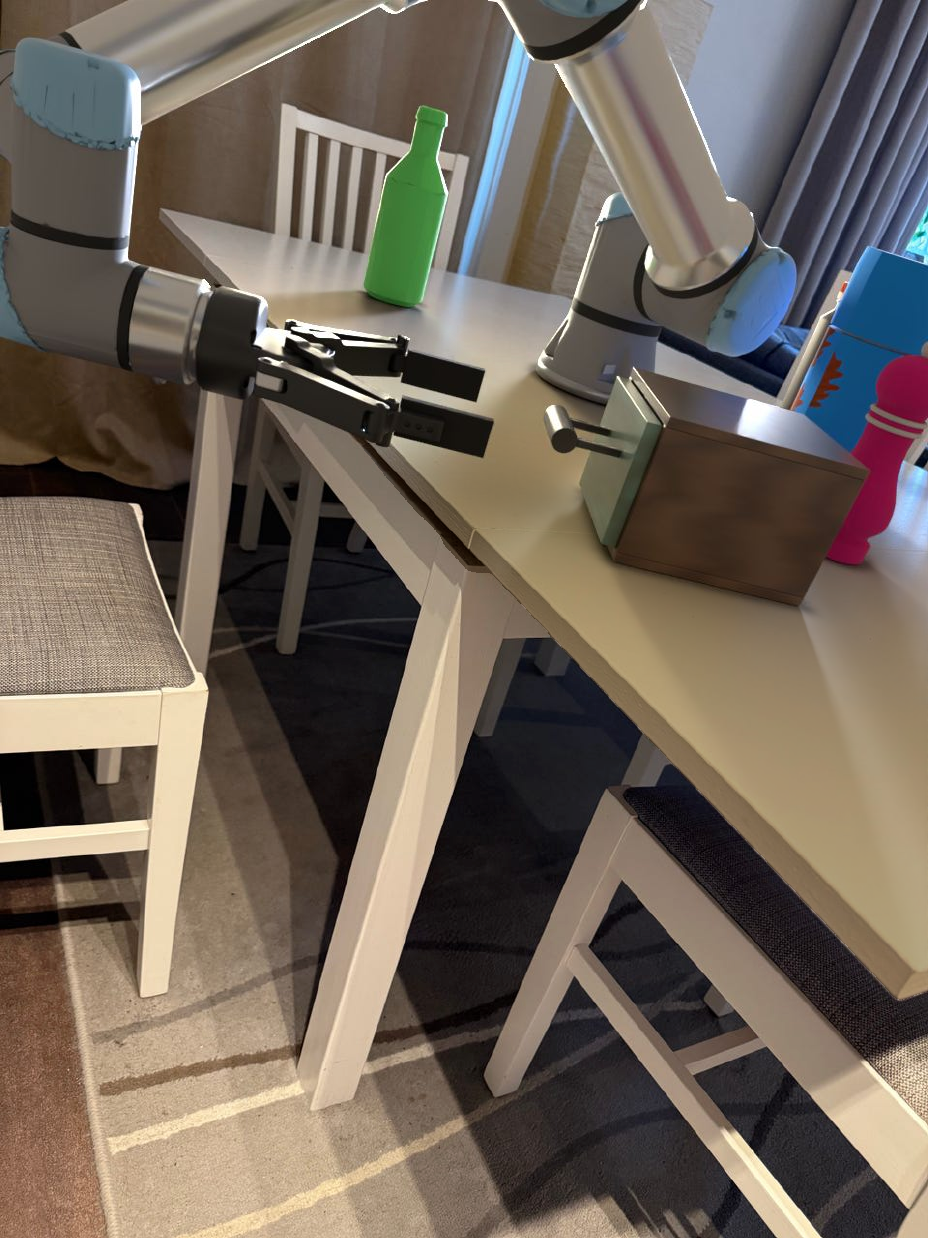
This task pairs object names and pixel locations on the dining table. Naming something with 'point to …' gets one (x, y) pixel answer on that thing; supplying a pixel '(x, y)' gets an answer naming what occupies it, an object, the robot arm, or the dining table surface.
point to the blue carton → (865, 343)
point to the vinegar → (810, 354)
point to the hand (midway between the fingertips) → (484, 410)
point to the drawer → (610, 454)
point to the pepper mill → (884, 452)
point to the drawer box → (736, 492)
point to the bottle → (409, 217)
